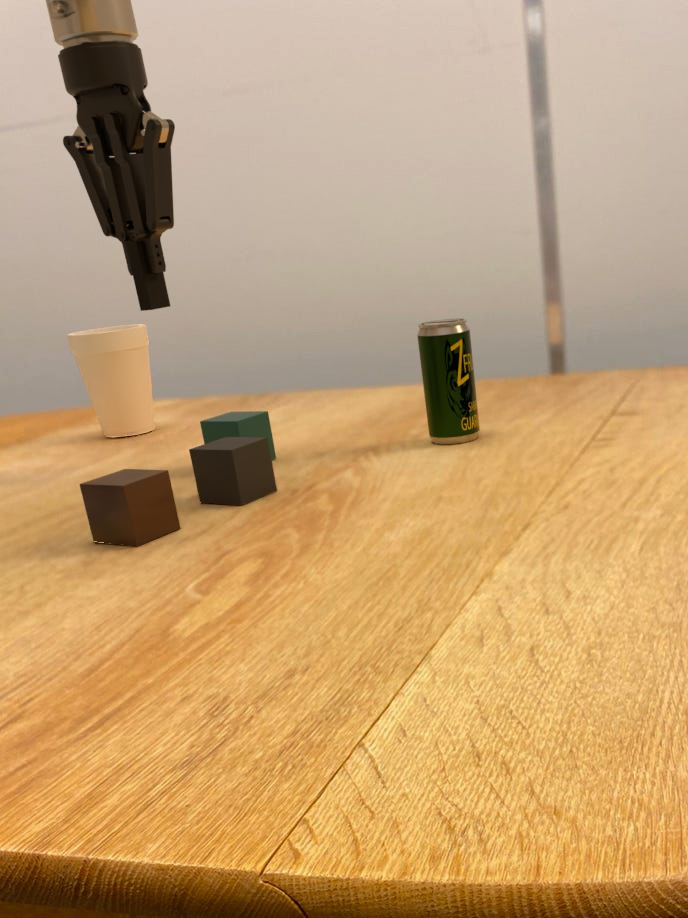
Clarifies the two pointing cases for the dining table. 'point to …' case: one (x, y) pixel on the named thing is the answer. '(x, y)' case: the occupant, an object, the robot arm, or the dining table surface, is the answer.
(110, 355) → the foam cup
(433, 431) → the beer can
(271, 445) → the teal block
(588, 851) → the dining table surface
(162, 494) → the walnut block
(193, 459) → the charcoal block
